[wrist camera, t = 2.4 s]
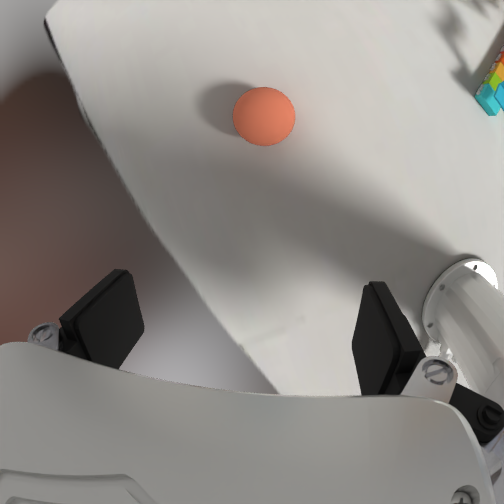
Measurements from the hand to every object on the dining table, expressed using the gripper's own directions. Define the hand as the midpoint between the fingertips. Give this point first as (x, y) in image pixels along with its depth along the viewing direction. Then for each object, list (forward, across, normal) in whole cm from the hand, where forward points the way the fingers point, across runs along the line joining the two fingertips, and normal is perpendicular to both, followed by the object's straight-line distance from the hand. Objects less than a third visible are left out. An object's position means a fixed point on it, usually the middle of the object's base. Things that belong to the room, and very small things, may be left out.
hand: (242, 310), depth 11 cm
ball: (+16, +1, -9) cm, 19 cm away
